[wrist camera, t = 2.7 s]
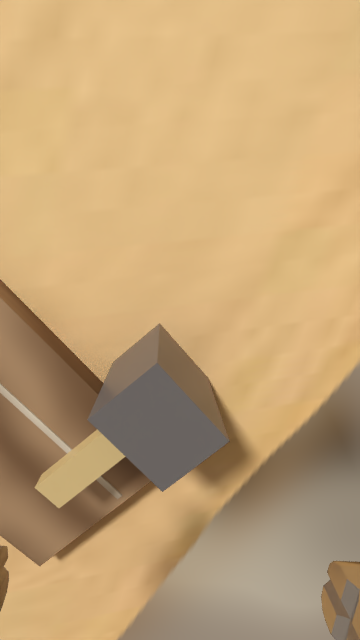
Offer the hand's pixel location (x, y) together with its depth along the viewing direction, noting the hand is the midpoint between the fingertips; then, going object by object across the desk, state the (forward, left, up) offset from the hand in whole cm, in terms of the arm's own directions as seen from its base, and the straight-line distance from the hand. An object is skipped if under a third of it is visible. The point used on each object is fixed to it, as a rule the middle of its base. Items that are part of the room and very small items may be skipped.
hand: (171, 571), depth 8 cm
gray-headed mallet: (-3, 0, -13) cm, 14 cm away
